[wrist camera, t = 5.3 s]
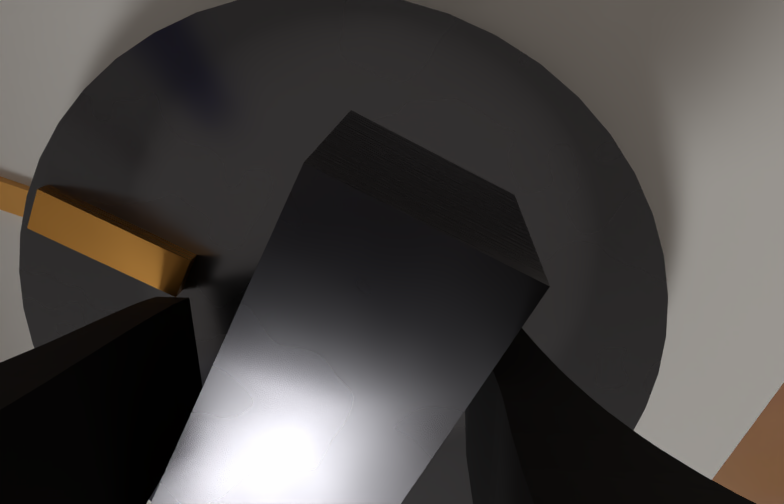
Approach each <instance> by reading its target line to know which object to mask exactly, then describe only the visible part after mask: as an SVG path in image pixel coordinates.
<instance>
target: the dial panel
mask: <svg viewBox="0 0 784 504" xmlns="http://www.w3.org/2000/svg"><path fill="white" fill-rule="evenodd" d="M233 1H236V0H0V362H3V361H5V360H8V359H10V358H12V357H15V356H17V355H19V354H22V353H24V352H27V351H29V350H31V349H34V346H33V343H32V339H31V336H30V332H29V328H28V324H27V320H26V316H25V312H24V309H23V300H22V292H21V283H20V275H19V255H20V231H21V225H22V220H23V214H24V208H25V203H26V197H27V194H28V191H29V188H30V185H31V182H32V179H33V176H34V173H35V170H36V167H37V164H38V161H39V158H40V157H41V155H42V153H43V151H44V149H45V147H46V145H47V143H48V142H49V140H50V138H51V136H52V134H53V132H54V130H55V128H56V126H57V125H58V123H59V121H60V120H61V119H62V117H63V116H64V115H65V113H66V112H67V111H68V109H69V108H70V107H71V106H72V104H73V103H74V102H75V100H76V99H77V98H78V96H79V95H80V94H81V92H82V91H83V90H84V89H85V88H86V87H87V86H88V85H89V84H90V83H91V82H92V81H93V80H94V79H95V78H96V77H97V76H98V75H99V74H100V73H101V72H102V71H103V70H105V69H106V68H107V67H108V66H109V65H110V64H111V63H112V62H113V61H114V60H115V59H116V58H118V57H119V56H121V55H122V54H123V53H125V52H126V51H128V50H129V49H131V48H132V47H134V46H135V45H137V44H138V43H139V42H141V41H142V40H144V39H145V38H147V37H148V36H150V35H151V34H153V33H154V32H156V31H159V30H161V29H163V28H165V27H167V26H169V25H171V24H173V23H175V22H177V21H180V20H182V19H184V18H186V17H188V16H190V15H192V14H194V13H196V12H199V11H203V10H206V9H209V8H213V7H216V6H219V5H223V4H226V3H229V2H233ZM405 1H408V2H412V3H415V4H418V5H422V6H425V7H428V8H432V9H435V10H439V11H442V12H445V13H449V14H451V15H453V16H455V17H457V18H460V19H462V20H464V21H466V22H468V23H470V24H473V25H475V26H477V27H479V28H481V29H483V30H486V31H488V32H490V33H492V34H494V35H496V36H498V37H499V38H501V39H503V40H504V41H506V42H507V43H509V44H510V45H512V46H513V47H515V48H517V49H518V50H520V51H521V52H523V53H524V54H526V55H527V56H529V57H531V58H532V59H534V60H535V61H537V62H538V63H540V64H541V65H542V66H543V67H545V68H546V69H547V70H548V71H549V72H550V73H552V74H553V75H554V76H555V77H556V78H557V79H558V80H560V81H561V82H562V83H563V84H564V85H565V86H566V87H568V88H569V89H570V90H571V91H572V92H573V93H575V94H576V95H577V96H578V97H579V98H580V99H581V100H582V102H583V103H584V104H585V105H586V106H587V107H588V109H589V110H590V111H591V112H592V113H593V114H594V116H595V117H596V118H597V119H598V120H599V121H600V123H601V124H602V125H603V126H604V127H605V128H606V129H607V131H608V132H609V133H610V134H611V136H612V137H613V139H614V141H615V142H616V144H617V145H618V147H619V149H620V150H621V152H622V153H623V155H624V157H625V158H626V160H627V161H628V163H629V164H630V166H631V168H632V169H633V171H634V172H635V174H636V177H637V179H638V181H639V183H640V186H641V188H642V190H643V193H644V195H645V197H646V199H647V202H648V204H649V206H650V209H651V211H652V213H653V216H654V220H655V224H656V228H657V231H658V235H659V239H660V243H661V247H662V250H663V254H664V261H665V271H666V281H667V290H668V310H667V329H666V339H665V344H664V349H663V354H662V359H661V363H660V368H659V373H658V376H657V379H656V381H655V384H654V387H653V390H652V392H651V395H650V398H649V400H648V403H647V406H646V408H645V410H644V412H643V414H642V416H641V418H640V420H639V421H638V423H637V425H636V427H635V429H634V430H633V431H635V432H636V433H638V434H639V435H640V436H642V437H643V438H645V439H646V440H648V441H649V442H651V443H652V444H654V445H655V446H657V447H658V448H660V449H661V450H663V451H664V452H666V453H668V454H669V455H671V456H672V457H674V458H676V459H677V460H679V461H681V462H682V463H684V464H686V465H687V466H689V467H690V468H692V469H694V470H695V471H697V472H699V473H700V474H702V475H704V476H705V477H707V478H709V479H711V480H712V479H713V477H714V476H715V475H716V473H717V472H718V471H719V469H720V468H721V467H722V465H723V464H724V463H725V461H726V460H727V458H728V457H729V456H730V454H731V453H732V452H733V450H734V449H735V448H736V446H737V445H738V444H739V442H740V441H741V439H742V438H743V437H744V435H745V434H746V433H747V431H748V430H749V429H750V427H751V426H752V425H753V423H754V422H755V421H756V419H757V418H758V416H759V415H760V414H761V412H762V411H763V410H764V408H765V407H766V406H767V404H768V403H769V402H770V400H771V399H772V398H773V396H774V395H775V393H776V392H777V391H778V389H779V388H780V387H781V385H782V384H783V383H784V0H405ZM146 504H151V501H150V500H148V502H147V503H146Z"/></svg>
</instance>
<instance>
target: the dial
mask: <svg viewBox="0 0 784 504" xmlns="http://www.w3.org/2000/svg"><path fill="white" fill-rule="evenodd" d="M19 275H20V283H21V292H22V300H23V309H24V312H25V316H26V320H27V324H28V328H29V332H30V336H31V339H32V343H33V346H34V348H36V347H39V346H41V345H43V344H46V343H48V342H50V341H53V340H55V339H57V338H59V337H62V336H64V335H66V334H68V333H70V332H73V331H75V330H77V329H79V328H81V327H84V326H86V325H88V324H90V323H92V322H95V321H97V320H99V319H101V318H104V317H106V316H108V315H110V314H112V313H115V312H117V311H119V310H122V309H124V308H126V307H129V306H131V305H134V304H136V303H139V302H141V301H144V300H147V299H150V298H154V297H184V298H189V299H190V306H191V312H192V319H193V326H194V333H195V339H196V346H197V353H198V359H199V366H200V373H201V380H202V386H203V388H202V390H201V392H200V395H199V397H198V399H197V401H196V403H195V406H194V408H193V410H192V412H191V415H190V417H189V419H188V421H187V424H186V426H185V428H184V430H183V432H182V435H181V437H180V439H179V441H178V444H177V446H176V448H175V450H174V453H173V455H172V457H171V459H170V461H169V464H168V466H167V468H166V470H165V473H164V475H163V477H162V478H161V480H160V482H159V483H158V485H157V487H156V488H155V490H154V492H153V493H152V495H151V497H150V498H149V500H150V501H151V504H473V501H472V494H471V486H470V479H469V472H468V465H467V458H466V434H465V410H466V408H467V407H468V405H469V404H470V402H471V401H472V399H473V398H474V396H475V395H476V394H477V392H478V391H479V389H480V388H481V386H482V385H483V383H484V382H485V380H486V379H487V378H488V376H489V375H490V373H491V372H492V370H493V369H494V367H495V366H496V364H497V363H498V362H499V360H500V359H501V357H502V356H503V354H504V353H505V351H506V350H507V348H508V347H509V346H510V344H511V343H512V341H513V340H514V338H515V337H516V335H517V334H518V332H519V331H520V330H521V328H523V330H524V331H525V332H526V333H527V334H528V335H529V337H530V338H531V339H532V340H533V341H534V342H535V343H536V345H537V346H538V347H539V348H540V349H541V350H542V351H543V352H544V353H545V354H546V355H547V356H548V358H549V359H550V360H551V361H552V362H553V363H554V364H555V365H556V366H557V367H558V368H559V369H560V370H561V371H562V372H563V373H564V374H565V375H566V376H567V377H568V378H569V379H571V380H572V381H573V382H574V383H575V384H576V385H577V386H578V387H580V388H581V389H582V390H583V391H584V392H585V393H586V394H587V395H589V396H590V397H591V398H592V399H593V400H594V401H595V402H597V403H598V404H599V405H600V406H602V407H603V408H604V409H605V410H607V411H608V412H609V413H610V414H612V415H613V416H615V417H616V418H617V419H619V420H620V421H621V422H623V423H624V424H625V425H627V426H628V427H629V428H631V429H632V430H634V429H635V427H636V425H637V423H638V421H639V420H640V418H641V416H642V414H643V412H644V410H645V408H646V406H647V403H648V400H649V398H650V395H651V392H652V390H653V387H654V384H655V381H656V379H657V376H658V373H659V368H660V363H661V359H662V354H663V349H664V344H665V339H666V329H667V310H668V290H667V281H666V271H665V261H664V254H663V250H662V247H661V243H660V239H659V235H658V231H657V228H656V224H655V220H654V216H653V213H652V211H651V209H650V206H649V204H648V202H647V199H646V197H645V195H644V193H643V190H642V188H641V186H640V183H639V181H638V179H637V177H636V174H635V172H634V171H633V169H632V168H631V166H630V164H629V163H628V161H627V160H626V158H625V157H624V155H623V153H622V152H621V150H620V149H619V147H618V145H617V144H616V142H615V141H614V139H613V137H612V136H611V134H610V133H609V132H608V131H607V129H606V128H605V127H604V126H603V125H602V124H601V123H600V121H599V120H598V119H597V118H596V117H595V116H594V114H593V113H592V112H591V111H590V110H589V109H588V107H587V106H586V105H585V104H584V103H583V102H582V100H581V99H580V98H579V97H578V96H577V95H576V94H575V93H573V92H572V91H571V90H570V89H569V88H568V87H566V86H565V85H564V84H563V83H562V82H561V81H560V80H558V79H557V78H556V77H555V76H554V75H553V74H552V73H550V72H549V71H548V70H547V69H546V68H545V67H543V66H542V65H541V64H540V63H538V62H537V61H535V60H534V59H532V58H531V57H529V56H527V55H526V54H524V53H523V52H521V51H520V50H518V49H517V48H515V47H513V46H512V45H510V44H509V43H507V42H506V41H504V40H503V39H501V38H499V37H498V36H496V35H494V34H492V33H490V32H488V31H486V30H483V29H481V28H479V27H477V26H475V25H473V24H470V23H468V22H466V21H464V20H462V19H460V18H457V17H455V16H453V15H451V14H449V13H445V12H442V11H439V10H435V9H432V8H428V7H425V6H422V5H418V4H415V3H412V2H408V1H405V0H236V1H233V2H229V3H226V4H223V5H219V6H216V7H213V8H209V9H206V10H203V11H199V12H196V13H194V14H192V15H190V16H188V17H186V18H184V19H182V20H180V21H177V22H175V23H173V24H171V25H169V26H167V27H165V28H163V29H161V30H159V31H156V32H154V33H153V34H151V35H150V36H148V37H147V38H145V39H144V40H142V41H141V42H139V43H138V44H137V45H135V46H134V47H132V48H131V49H129V50H128V51H126V52H125V53H123V54H122V55H121V56H119V57H118V58H116V59H115V60H114V61H113V62H112V63H111V64H110V65H109V66H108V67H107V68H106V69H105V70H103V71H102V72H101V73H100V74H99V75H98V76H97V77H96V78H95V79H94V80H93V81H92V82H91V83H90V84H89V85H88V86H87V87H86V88H85V89H84V90H83V91H82V92H81V94H80V95H79V96H78V98H77V99H76V100H75V102H74V103H73V104H72V106H71V107H70V108H69V109H68V111H67V112H66V113H65V115H64V116H63V117H62V119H61V120H60V121H59V123H58V125H57V126H56V128H55V130H54V132H53V134H52V136H51V138H50V140H49V142H48V143H47V145H46V147H45V149H44V151H43V153H42V155H41V157H40V158H39V161H38V164H37V167H36V170H35V173H34V176H33V179H32V182H31V185H30V188H29V191H28V194H27V197H26V203H25V208H24V214H23V220H22V225H21V231H20V255H19Z"/></svg>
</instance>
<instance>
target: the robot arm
mask: <svg viewBox="0 0 784 504" xmlns="http://www.w3.org/2000/svg"><path fill="white" fill-rule="evenodd" d="M202 388H203V386H202V380H201V373H200V366H199V359H198V353H197V346H196V339H195V333H194V326H193V319H192V312H191V306H190V299H189V298H184V297H154V298H150V299H147V300H144V301H141V302H139V303H136V304H134V305H131V306H129V307H126V308H124V309H122V310H119V311H117V312H115V313H112V314H110V315H108V316H106V317H104V318H101V319H99V320H97V321H95V322H92V323H90V324H88V325H86V326H84V327H81V328H79V329H77V330H75V331H73V332H70V333H68V334H66V335H64V336H62V337H59V338H57V339H55V340H53V341H50V342H48V343H46V344H43V345H41V346H39V347H36V348H34V349H31V350H29V351H27V352H24V353H22V354H19V355H17V356H15V357H12V358H10V359H8V360H5V361H3V362H0V504H146V503H147V502H148V500H149V498H150V497H151V495H152V493H153V492H154V490H155V488H156V487H157V485H158V483H159V482H160V480H161V478H162V477H163V475H164V473H165V470H166V468H167V466H168V464H169V461H170V459H171V457H172V455H173V453H174V450H175V448H176V446H177V444H178V441H179V439H180V437H181V435H182V432H183V430H184V428H185V426H186V424H187V421H188V419H189V417H190V415H191V412H192V410H193V408H194V406H195V403H196V401H197V399H198V397H199V395H200V392H201V390H202ZM465 434H466V458H467V465H468V472H469V479H470V486H471V494H472V501H473V504H756V503H754V502H752V501H750V500H748V499H746V498H744V497H742V496H740V495H738V494H736V493H734V492H732V491H731V490H729V489H727V488H725V487H723V486H722V485H720V484H718V483H716V482H714V481H713V480H711V479H709V478H707V477H705V476H704V475H702V474H700V473H699V472H697V471H695V470H694V469H692V468H690V467H689V466H687V465H686V464H684V463H682V462H681V461H679V460H677V459H676V458H674V457H672V456H671V455H669V454H668V453H666V452H664V451H663V450H661V449H660V448H658V447H657V446H655V445H654V444H652V443H651V442H649V441H648V440H646V439H645V438H643V437H642V436H640V435H639V434H638V433H636V432H635V431H633V430H632V429H631V428H629V427H628V426H627V425H625V424H624V423H623V422H621V421H620V420H619V419H617V418H616V417H615V416H613V415H612V414H610V413H609V412H608V411H607V410H605V409H604V408H603V407H602V406H600V405H599V404H598V403H597V402H595V401H594V400H593V399H592V398H591V397H590V396H589V395H587V394H586V393H585V392H584V391H583V390H582V389H581V388H580V387H578V386H577V385H576V384H575V383H574V382H573V381H572V380H571V379H569V378H568V377H567V376H566V375H565V374H564V373H563V372H562V371H561V370H560V369H559V368H558V367H557V366H556V365H555V364H554V363H553V362H552V361H551V360H550V359H549V358H548V356H547V355H546V354H545V353H544V352H543V351H542V350H541V349H540V348H539V347H538V346H537V345H536V343H535V342H534V341H533V340H532V339H531V338H530V337H529V335H528V334H527V333H526V332H525V331H524V330H523V328H521V330H520V331H519V332H518V334H517V335H516V337H515V338H514V340H513V341H512V343H511V344H510V346H509V347H508V348H507V350H506V351H505V353H504V354H503V356H502V357H501V359H500V360H499V362H498V363H497V364H496V366H495V367H494V369H493V370H492V372H491V373H490V375H489V376H488V378H487V379H486V380H485V382H484V383H483V385H482V386H481V388H480V389H479V391H478V392H477V394H476V395H475V396H474V398H473V399H472V401H471V402H470V404H469V405H468V407H467V408H466V410H465Z"/></svg>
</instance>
